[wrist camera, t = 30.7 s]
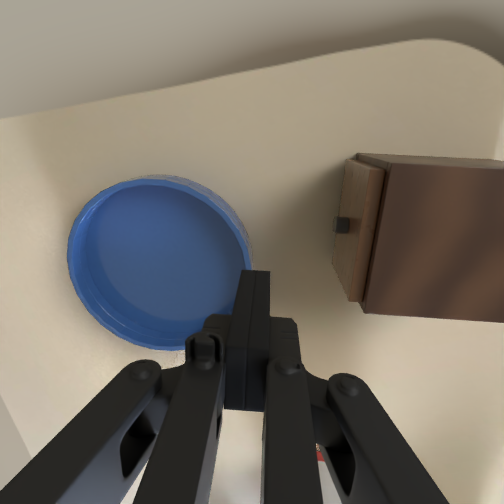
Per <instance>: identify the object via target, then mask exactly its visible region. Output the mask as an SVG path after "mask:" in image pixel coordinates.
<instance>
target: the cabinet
mask: <svg viewBox="0 0 504 504" xmlns="http://www.w3.org/2000/svg"><path fill="white" fill-rule="evenodd" d="M356 160H360V161H362V162H365V163H368V164H371V165H374V166H376V167H379V168H382V169H385V170H386V178H385V184H384V189H383V195H382V200H381V206H380V211H379V217H378V222H377V228H376V234H375V239H374V245H373V250H372V256H371V261H370V267H369V273H368V278H366V284H365V289H364V295H363V301H362V302H359V304H360V306H361V308H362V310H363V312H364V313H365V314H379V315H394V316H409V317H424V318H439V319H454V320H469V321H484V322H499V323H504V161H499V160H490V159H469V158H448V157H428V156H407V155H387V154H366V153H357V158H356Z"/></svg>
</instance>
